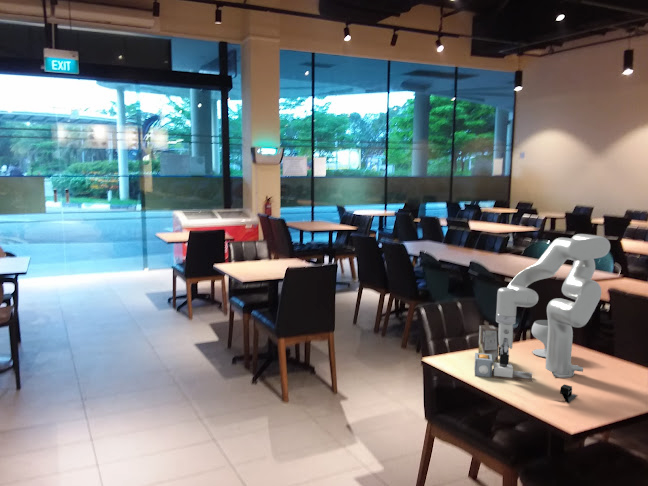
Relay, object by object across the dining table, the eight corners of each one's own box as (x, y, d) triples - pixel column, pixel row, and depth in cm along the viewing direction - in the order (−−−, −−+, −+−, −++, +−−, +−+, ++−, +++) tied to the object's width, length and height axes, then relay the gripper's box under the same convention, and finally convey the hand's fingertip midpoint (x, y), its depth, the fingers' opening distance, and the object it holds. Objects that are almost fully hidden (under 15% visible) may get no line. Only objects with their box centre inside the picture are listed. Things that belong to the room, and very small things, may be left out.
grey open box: (490, 370, 216) (491, 354, 215) (491, 377, 208) (492, 360, 207) (474, 368, 218) (475, 352, 217) (474, 375, 210) (475, 359, 209)
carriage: (511, 372, 213) (512, 347, 212) (512, 378, 207) (514, 352, 206) (493, 370, 215) (494, 346, 213) (494, 376, 209) (495, 350, 208)
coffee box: (498, 366, 225) (500, 330, 223) (483, 366, 225) (485, 330, 223) (491, 359, 234) (493, 324, 232) (477, 359, 234) (479, 324, 232)
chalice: (562, 352, 245) (564, 321, 244) (562, 361, 233) (564, 328, 231) (531, 348, 251) (533, 317, 249) (529, 356, 239) (531, 324, 237)
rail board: (529, 377, 213) (530, 369, 212) (532, 385, 204) (533, 377, 204) (474, 371, 218) (474, 363, 218) (474, 379, 210) (475, 371, 209)
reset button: (487, 361, 214) (488, 354, 213) (488, 364, 210) (488, 357, 210) (478, 361, 215) (479, 354, 214) (478, 363, 211) (479, 356, 211)
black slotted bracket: (569, 406, 187) (570, 394, 187) (549, 400, 192) (549, 388, 192) (581, 396, 196) (581, 384, 196) (561, 390, 201) (561, 379, 201)
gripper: (517, 325, 199) (515, 368, 201) (513, 314, 216) (511, 354, 218) (497, 323, 201) (494, 366, 203) (494, 312, 218) (492, 352, 220)
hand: (503, 360), depth 210 cm, fingers open, 8 cm apart
